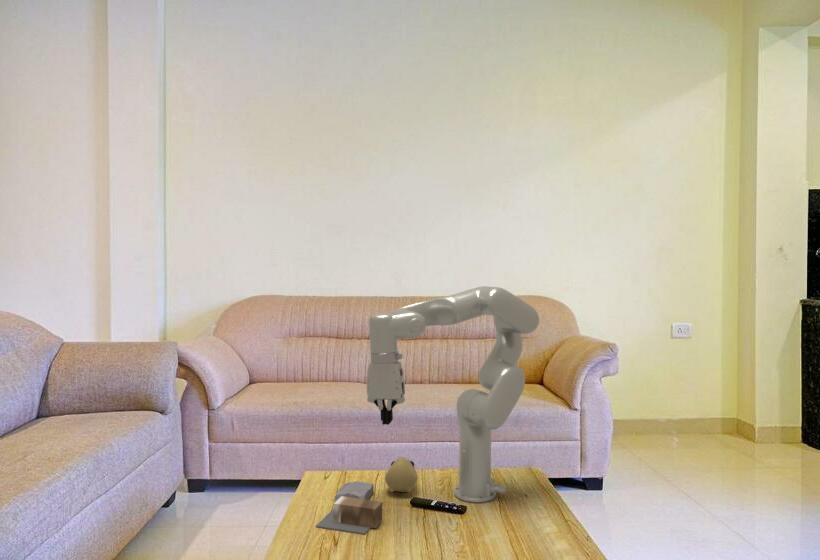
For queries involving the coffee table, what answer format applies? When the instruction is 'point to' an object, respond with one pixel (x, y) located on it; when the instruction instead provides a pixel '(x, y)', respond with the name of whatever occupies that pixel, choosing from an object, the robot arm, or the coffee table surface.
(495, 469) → the coffee table surface
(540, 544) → the coffee table surface
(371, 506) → the walnut block
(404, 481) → the tan rounded figure
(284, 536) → the coffee table surface
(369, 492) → the stone block
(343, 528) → the rubber mat
